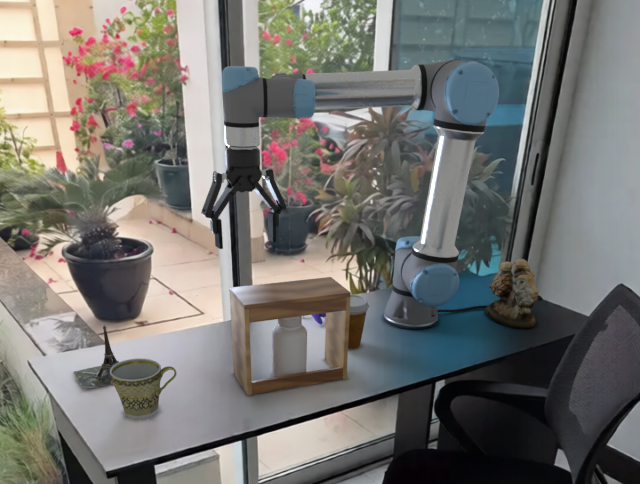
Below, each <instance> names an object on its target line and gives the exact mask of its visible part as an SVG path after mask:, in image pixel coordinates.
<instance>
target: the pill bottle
mask: <svg viewBox="0 0 640 484" xmlns="http://www.w3.org/2000/svg"><path fill="white" fill-rule="evenodd" d="M302 323H303V316H298V317H290V318H283V319H277V324H276V325H275V326H274V327H273V328H272V331H271V373H272V378H273V377H279V376H285V375H291V374H297V373H304V372H307V360H308V359H307V357H308V356H307V354H308V353H307V352H308V330H307V328H306V327H305V326H304V325H303V324H302Z"/></svg>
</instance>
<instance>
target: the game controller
mask: <svg viewBox="0 0 640 484" xmlns="http://www.w3.org/2000/svg"><path fill="white" fill-rule="evenodd" d="M322 318H324V319H325V320H326V313H322V314H314V315H311V317H310V319H314V320H315V322H316V323H318V324H319V325H323V319H322ZM302 319H303V320H304V319H305V320H306V319H307V317H306V318H305V316H302Z"/></svg>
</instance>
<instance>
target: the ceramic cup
mask: <svg viewBox="0 0 640 484" xmlns="http://www.w3.org/2000/svg"><path fill="white" fill-rule="evenodd" d="M168 371H173V372H174V374H173V376H171V378H169V379H168V380H167V381H166V382H165V383H164V384H163V386H161V380H162V378H163V375H164V374H165V373H166V372H168ZM110 376H111V379H112V381H113V384H112V385H113V386H114V389H115V390H116V393H117V394H118V397H119V400H120V402H121V405H122V408H123V412H124V414H125V417H126V418H128V419H132V420H136V421H139V420H146V419H151V418H153V417H154V416H155V415H156V414H157V413H158V412H159V401H160V395H161V393H162V391H163V390H164V389H165V388H166V387H167V386H168V385H169V384H170V383H171V382H172V381H173V380H174V379H175V378H176V376H177V370H176V368H175V367H173V366H165V367H163V368H162V365H161V364H160V363H159V362H157V361H156V360H154V359H149V358H129V359H126V360H125V359H124V360H121V361H119V363H117V364H115V365H114V366H112V367H111V369H110Z"/></svg>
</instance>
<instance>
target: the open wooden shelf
mask: <svg viewBox="0 0 640 484" xmlns="http://www.w3.org/2000/svg"><path fill="white" fill-rule="evenodd" d="M228 289H229V305H230V306H229V308H230V309H229V311H230V327H231V328H230V329H231V348H232V361H233V362H232V365H233V375H234V377H235V378H236V380H237V381H238V383H239V385H240V386H241V388H242V389H243V390H244V392H245V394H246V395H247V396H253V395H258V394H259V395H261V394H265V393H271V392H277V391H282V390H290V389H294V388H295V389H296V388H301V387H307V386H312V385H317V384H318V385H319V384H324V383H330V382H337V381H341V380H347V379H348V359H349V357H348V356H349V349H348V339H349V318H350V298H351V295H352V292H351V291H350V290H348V289H347V288H346V287H345V286H343V285H342V284H341V283H339V282H338V280H335V279H334V278H333V277H332V276H326V277H317V278H308V279H298V280H289V281H280V282H279V281H278V282H270V283H260V284H251V285H243V286H233V287H229V288H228ZM322 313H326V317H325V318H326V319H325V330H324V331H325V332H324V333H325V334H324V335H325V336H324V338H325V339H324V362H325V363H326V364H327V365H329V367H330V368H329V367H328V368H323V369H317V370H311V371H310V370H309V371H306V372H304V373H297V374H291V375H285V376H279V377H273V376H272V377H267V378H261V379H256V380H255V379H254V380H252V358H251V357H252V356H251V353H252V352H251V329H250V324H251V323H252V324H253V323H259V322H266V321H275V320H278V319H283V318H290V317H298V316H302V317H303V316H304V317H305V316H312V315H314V314H322Z"/></svg>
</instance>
